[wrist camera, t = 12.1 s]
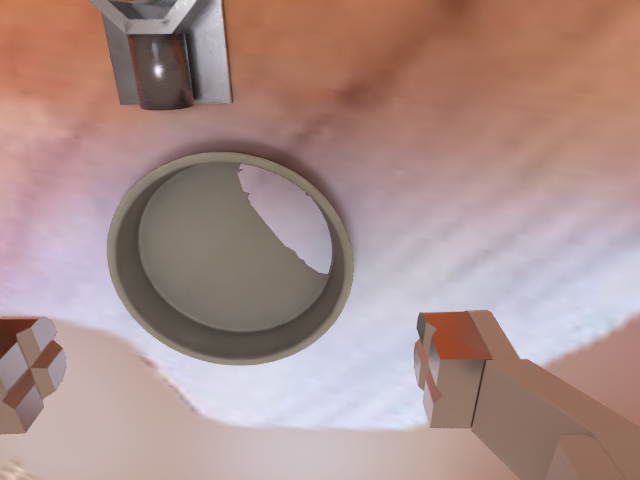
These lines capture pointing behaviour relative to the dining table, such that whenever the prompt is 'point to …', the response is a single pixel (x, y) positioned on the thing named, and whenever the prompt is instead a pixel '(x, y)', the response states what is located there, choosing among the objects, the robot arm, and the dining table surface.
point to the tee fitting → (168, 53)
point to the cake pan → (221, 264)
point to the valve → (150, 2)
